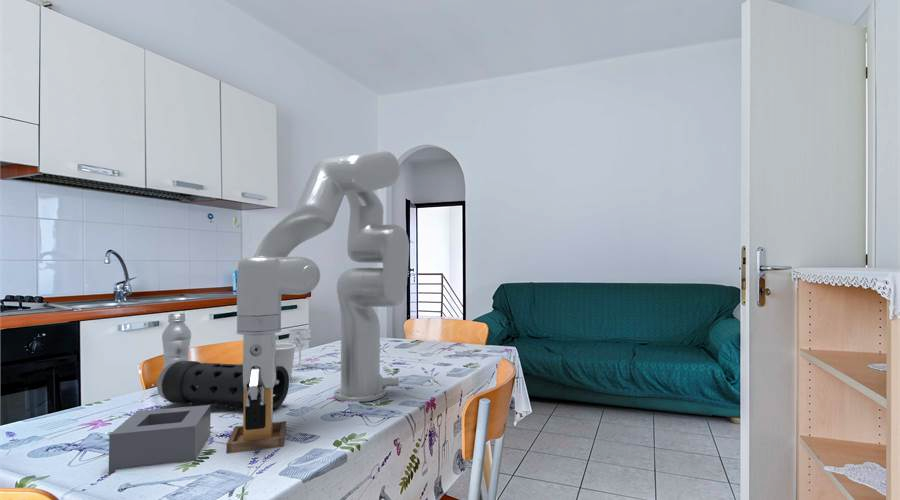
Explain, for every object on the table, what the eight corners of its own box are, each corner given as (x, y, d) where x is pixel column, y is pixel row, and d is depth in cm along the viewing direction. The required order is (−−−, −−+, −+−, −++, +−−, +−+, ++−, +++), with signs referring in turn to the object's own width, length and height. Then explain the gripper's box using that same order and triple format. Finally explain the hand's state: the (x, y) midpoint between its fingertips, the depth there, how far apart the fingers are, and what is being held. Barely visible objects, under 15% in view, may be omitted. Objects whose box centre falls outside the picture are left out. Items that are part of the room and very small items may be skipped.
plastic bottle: (168, 389, 120) (169, 313, 120) (195, 388, 120) (196, 312, 121) (154, 396, 113) (155, 315, 114) (183, 395, 114) (184, 315, 114)
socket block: (210, 436, 86) (210, 404, 86) (194, 463, 74) (195, 425, 74) (136, 444, 82) (137, 411, 82) (108, 473, 71) (109, 434, 71)
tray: (286, 431, 88) (286, 421, 88) (283, 449, 80) (283, 437, 80) (234, 437, 86) (234, 426, 86) (226, 456, 77) (226, 444, 77)
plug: (272, 434, 85) (273, 370, 86) (270, 443, 81) (271, 375, 82) (246, 437, 84) (247, 371, 85) (243, 446, 80) (243, 377, 80)
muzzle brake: (265, 419, 96) (265, 369, 96) (153, 411, 102) (154, 364, 102) (289, 405, 105) (290, 360, 106) (185, 399, 111) (186, 356, 111)
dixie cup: (284, 376, 133) (284, 342, 133) (301, 380, 128) (302, 345, 128) (257, 382, 126) (257, 346, 126) (275, 387, 121) (275, 349, 121)
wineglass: (284, 370, 141) (284, 331, 141) (295, 365, 147) (295, 328, 148) (304, 371, 140) (305, 332, 140) (314, 366, 146) (315, 328, 147)
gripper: (277, 329, 76) (276, 434, 76) (283, 318, 93) (282, 404, 92) (228, 331, 74) (227, 440, 73) (243, 319, 91) (242, 408, 90)
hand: (258, 419), depth 83 cm, fingers open, 8 cm apart
